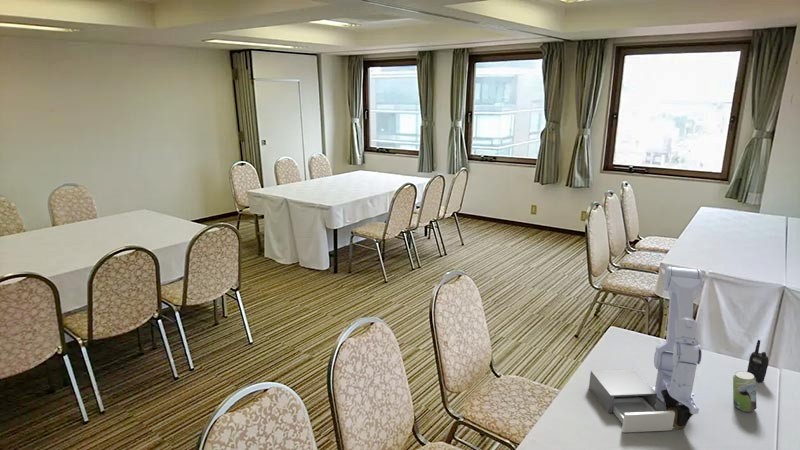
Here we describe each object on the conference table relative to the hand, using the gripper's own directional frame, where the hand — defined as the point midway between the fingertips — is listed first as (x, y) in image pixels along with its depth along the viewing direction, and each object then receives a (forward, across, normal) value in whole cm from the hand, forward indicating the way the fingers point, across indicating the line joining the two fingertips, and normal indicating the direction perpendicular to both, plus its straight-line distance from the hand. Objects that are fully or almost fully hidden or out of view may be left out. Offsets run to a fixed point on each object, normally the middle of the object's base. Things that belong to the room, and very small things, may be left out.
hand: (675, 419), depth 146 cm
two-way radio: (+2, +21, -43) cm, 48 cm away
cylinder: (+2, 0, 0) cm, 2 cm away
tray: (+1, +3, +11) cm, 11 cm away
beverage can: (+2, +6, -26) cm, 27 cm away
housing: (+1, +13, +10) cm, 17 cm away
